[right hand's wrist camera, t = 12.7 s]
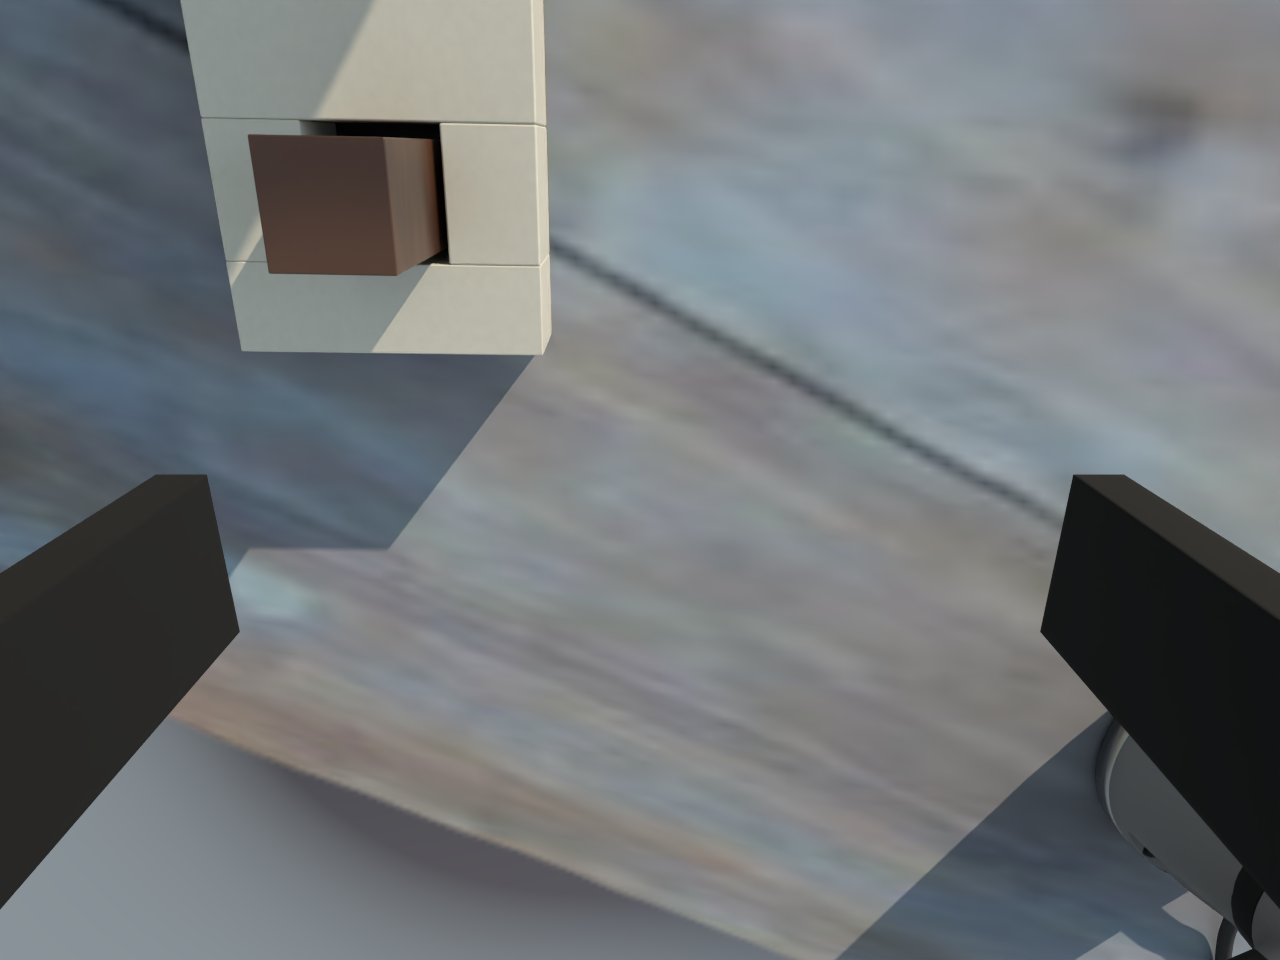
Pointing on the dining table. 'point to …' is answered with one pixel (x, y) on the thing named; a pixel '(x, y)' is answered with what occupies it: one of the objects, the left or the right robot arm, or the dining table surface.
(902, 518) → the dining table surface
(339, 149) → the peg
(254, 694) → the dining table surface
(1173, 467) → the dining table surface
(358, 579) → the dining table surface
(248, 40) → the peg board
